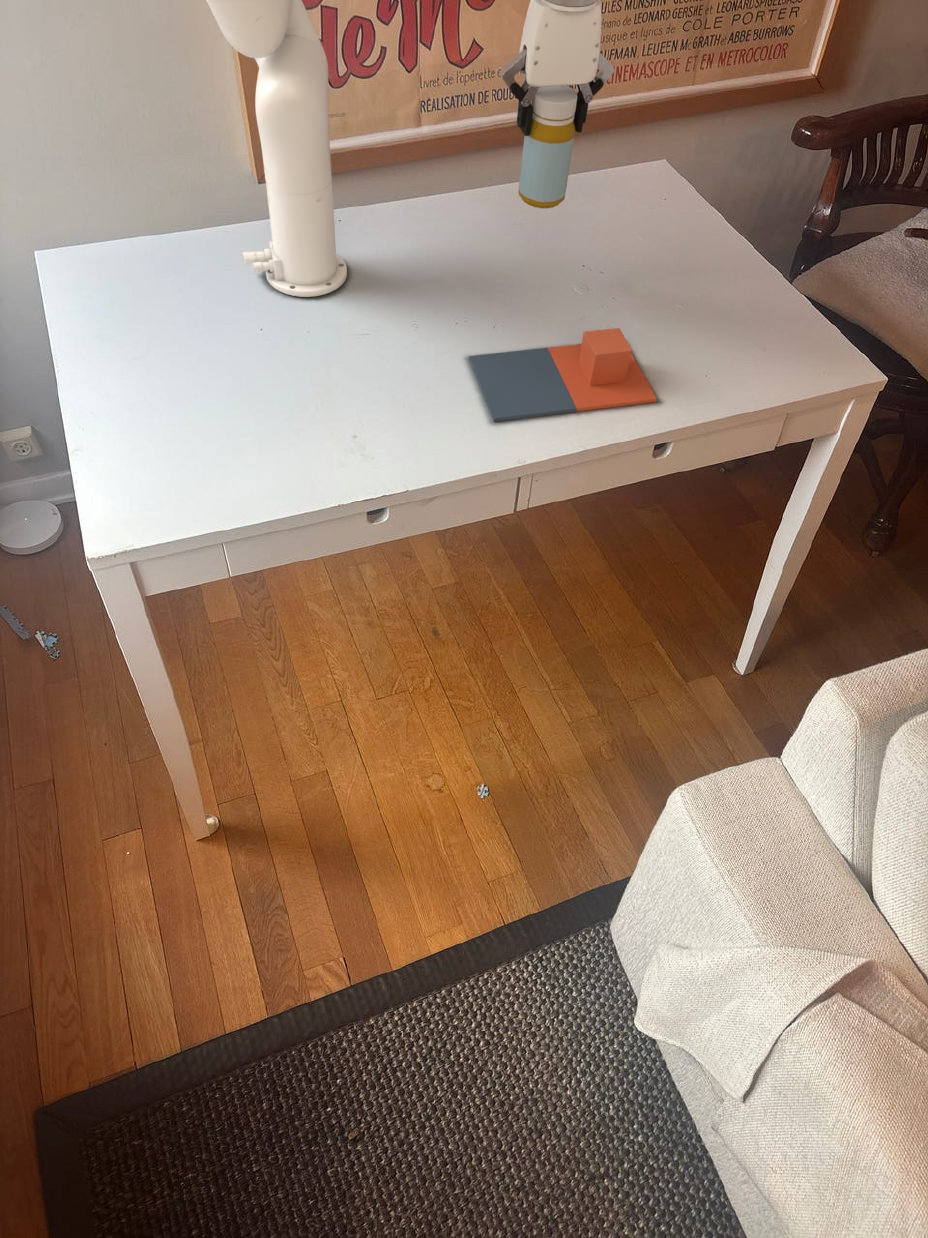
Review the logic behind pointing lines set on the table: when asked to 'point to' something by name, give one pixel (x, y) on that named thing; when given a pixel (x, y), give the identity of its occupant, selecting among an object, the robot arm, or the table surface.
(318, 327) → the table surface
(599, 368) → the block
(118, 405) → the table surface
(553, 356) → the sorting mat
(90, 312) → the table surface
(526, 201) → the bottle
